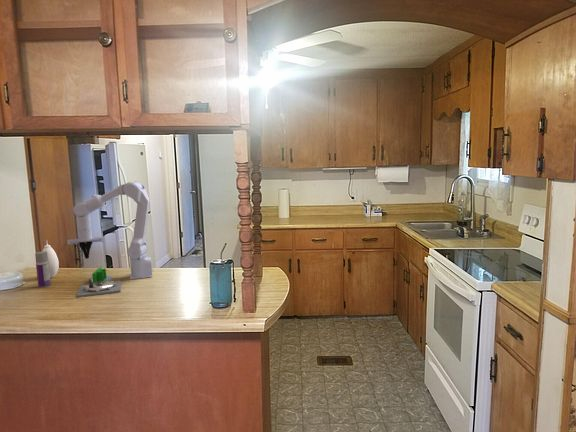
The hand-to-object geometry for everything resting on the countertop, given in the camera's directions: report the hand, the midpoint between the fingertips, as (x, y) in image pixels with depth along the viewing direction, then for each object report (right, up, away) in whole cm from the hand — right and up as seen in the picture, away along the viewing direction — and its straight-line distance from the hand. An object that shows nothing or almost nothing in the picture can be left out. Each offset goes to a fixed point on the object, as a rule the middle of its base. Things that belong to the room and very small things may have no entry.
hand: (87, 258), depth 188 cm
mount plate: (+14, -12, -17) cm, 25 cm away
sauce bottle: (-19, -10, +3) cm, 21 cm away
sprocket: (+14, -12, -17) cm, 25 cm away
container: (-13, -11, -10) cm, 20 cm away
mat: (+9, -10, -3) cm, 14 cm away
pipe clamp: (+8, -10, -3) cm, 13 cm away
